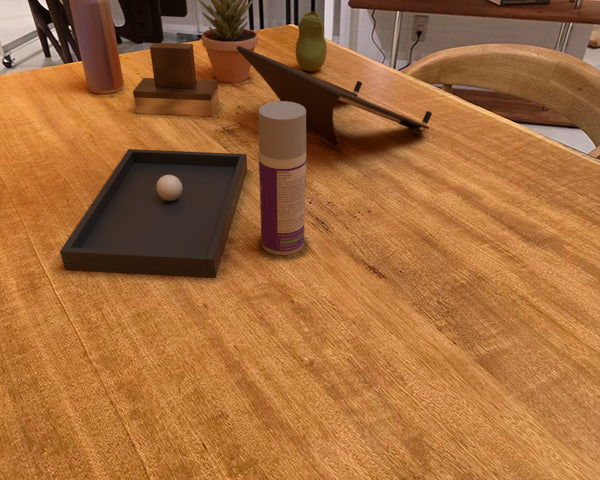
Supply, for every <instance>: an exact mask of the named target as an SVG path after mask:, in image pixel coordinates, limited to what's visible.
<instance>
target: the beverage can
mask: <svg viewBox="0 0 600 480" xmlns="http://www.w3.org/2000/svg"><path fill="white" fill-rule="evenodd" d="M110 1H111V0H68V2H69V7H70V11H71V16H72V20H73V26H74V31H75V35H76V40H77V44H78V45H77V46H78V48H79V49H78V50H79V54H80V58H81V63H82V69H83V72H84V73H83V74H84V76H85V81H86V82H85V83H86V87H87V88H88V89H89V91H90V92H92V93H93V94H97V95H109V94H115V93H117V92H120V91H121V90H122V89H123V87H124V84H125V82H124V76H123V69H122V65H121V58H120V54H119V47H118V42H117V36H116V30H115V24H114V18H113V13H112V12H113V11H112V7H111V2H110Z"/></svg>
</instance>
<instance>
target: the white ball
mask: <svg viewBox="0 0 600 480" xmlns="http://www.w3.org/2000/svg"><path fill="white" fill-rule="evenodd" d="M156 190H157V193H158V195H159V196H160V197H161V198H162V199H164V200H167V201H173V200H176V199H177V198H178V197H179V196H180V195H181V193H182V184H181V182H180V180H179V179H178V178H177V177H175V176H173V175H165V176H163V177H161V178H160V179H159V180H158V182H157V185H156Z"/></svg>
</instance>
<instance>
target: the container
mask: <svg viewBox="0 0 600 480" xmlns="http://www.w3.org/2000/svg"><path fill="white" fill-rule="evenodd" d="M258 174H259V177H258V178H259V204H260V205H259V207H260V209H259V210H260V235H261V236H260V238H261V239H260V240H261V246H262V248H263V250H264V251H266V252H267V253H269V254H271V255H276V256H291V255H294V254H297V253H299V252H300V251H301V250H302V249H303V248H304V246H305V223H306V219H305V218H306V186H307V183H306V179H307V129H306V109H305V107H303V106H302V105H300V104H297V103H294V102H287V101H280V100H278V101H271V102H267V103H264V104H262V105H261V106H260V107H259V108H258Z"/></svg>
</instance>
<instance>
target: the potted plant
mask: <svg viewBox="0 0 600 480" xmlns="http://www.w3.org/2000/svg"><path fill="white" fill-rule="evenodd" d="M197 1H198V2H199V3H200V4H201V5H202V7H203V8H204V9H205V10H206V11H207V12H208V13H209V14H210V15H211V16H212V17H213V18H214V19H213V18H211V17H210V16H209V15H207V14H206V13H204V12H203V11H202V15H203V17H204V18H205V19H206V20H207V21H208V22H209V23H210V24H211V25H212V26H213V27H214V28H212V27H211V26H208V29H207V30H205V31H204V32H202V34H201V41H202V42H201V43H202V46H203V47H204V48H205V51H206V53H207V56H208V59H209V62H210V64H211V68H212V72H213V73H214V76H215V80H216V81H219V82H221V83H227V84H238V83H239V84H240V83H241V82H245V81H247V80H248V79H249V78H250V71H251V67H252V65H251V64H250V63H249V62H248V61H247V60H246V59H245V58H244V56H243V55H242V54H241V53H240V52H239V51H238V50H237V46H241V47H243V48H246V49H248V50H251V51H253V52H255V48H256V47H257V46H258V44H259V34H258V33H257V32H256V31H255V30H252V29H248V28H246V27H247V26H248V23H249V22H248V21H246V19H247V18H248V15H245V13H246V12H247V11H248V10H249V8H250V7H251V5H252V4H253V2H254V0H250V1H248V0H210V2H211V4H212V5H213V7H212V6H211V4H208V5H207V4H206V3H204V2H203V1H202V0H197ZM247 1H248V3H247ZM244 15H245V16H244ZM245 21H246V22H245ZM244 22H245V23H244ZM243 23H244V24H243ZM241 25H242V26H241Z"/></svg>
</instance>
